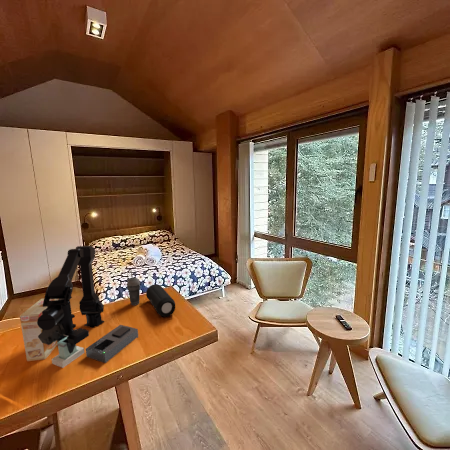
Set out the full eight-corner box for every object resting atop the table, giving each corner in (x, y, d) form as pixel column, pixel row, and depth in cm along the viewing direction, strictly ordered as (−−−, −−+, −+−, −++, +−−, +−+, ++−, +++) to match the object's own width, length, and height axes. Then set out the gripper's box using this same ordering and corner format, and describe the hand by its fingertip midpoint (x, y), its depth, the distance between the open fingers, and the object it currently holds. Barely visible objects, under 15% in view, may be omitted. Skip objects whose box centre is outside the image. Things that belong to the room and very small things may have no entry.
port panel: (86, 357, 99) (85, 347, 98) (121, 332, 115) (120, 323, 114) (105, 364, 95) (104, 353, 94) (138, 337, 112) (137, 327, 111)
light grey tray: (52, 364, 95) (51, 359, 95) (74, 350, 104) (73, 344, 103) (63, 368, 93) (62, 362, 93) (84, 353, 101) (83, 348, 101)
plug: (59, 361, 97) (57, 342, 95) (71, 353, 101) (69, 335, 100) (65, 363, 95) (63, 344, 94) (77, 355, 100) (75, 336, 99)
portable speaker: (145, 301, 146) (144, 285, 145) (162, 296, 151) (161, 281, 150) (158, 321, 125) (157, 302, 123) (177, 315, 130) (176, 297, 128)
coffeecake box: (46, 360, 98) (38, 314, 95) (26, 362, 97) (18, 316, 94) (64, 337, 113) (58, 296, 109) (46, 339, 112) (40, 298, 108)
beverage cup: (134, 307, 138) (131, 273, 135) (125, 304, 142) (122, 271, 139) (144, 302, 144) (141, 269, 141) (136, 299, 148) (133, 267, 145)
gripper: (24, 321, 91) (30, 359, 94) (58, 331, 84) (64, 372, 87) (54, 307, 102) (59, 342, 104) (87, 315, 95) (92, 352, 97)
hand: (68, 351), depth 98 cm, fingers closed on plug, 3 cm apart
